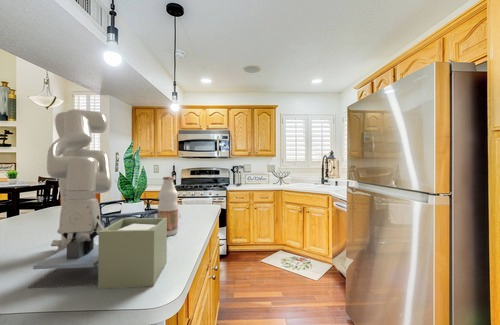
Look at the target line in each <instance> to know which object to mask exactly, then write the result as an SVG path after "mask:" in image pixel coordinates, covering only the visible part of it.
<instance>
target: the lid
mask: <svg viewBox="0 0 500 325" xmlns="http://www.w3.org/2000/svg"><path fill="white" fill-rule="evenodd" d="M85 241H86V236H82V237H80V238H78V239H76V240H74V241H72V242H70V243H68V244H67V248H65V249H64V250H62V251H60V252H58V253H56V252H55V254H52V255H51V256H49V257H47V258H46V259H44V260H42V261H39V262H38V263H36V264H34V265H33V267H32V269H33V270H55V269H57V268H81V267H94V266H96V265H97V264H98V258H99V244H95V245H94V243H95V238H93V249H92V251H90V252H89V253H87V254H84V242H85Z"/></svg>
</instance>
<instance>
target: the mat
mask: <svg viewBox="0 0 500 325" xmlns="http://www.w3.org/2000/svg"><path fill="white" fill-rule="evenodd" d="M77 286H78V287H81V286H82V287H83V286H85V287H87V286H98V264H97V265H96V266H94V267H81V268H57V269H53V270H52V271H51V272H49V273H47V274H46V275H45V276H43V277H41V278H40V279H38V280H37V281H35V282H34V283H32V284H31V285H29V286H28V287H27V289H34V288H35V289H37V288H38V289H40V288H61V287H63V288H64V287H77Z"/></svg>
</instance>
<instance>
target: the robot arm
mask: <svg viewBox="0 0 500 325" xmlns="http://www.w3.org/2000/svg"><path fill="white" fill-rule="evenodd" d="M107 120H108V119H107V117H106V114H104V113H103V112H99V111H95V110H94V111H93V110H86V109H78V108H77V109H68V110H67V111H62V112H59V113H57V114H56V115H55V118H54V124H55V129H56V134H57V135H58V137H59V138H58V139H56V140H55V141H54V142H53V143H52V144H51V145H50V146H49V148H48V150H47V155H46V157H47V158H46V172H47V174H48V176H49V177H50V178H52V179H54V180H55V179H56V180H57V179H58V187H59V193H60V200H61V201H60V202H61V208H60V215H59V227H58V229H57V232H56V233H57V234H59V235H61V238H60V239H53V240H52V242H51V244H50V246H51V247H57V249H56V251H55V254H56V253H58V252H60V251H62V250H64V249H65V248H67V244H68V243H70V242H72V241H74V240H76V239H78V238H80V237H82V236H86V241H85V242H84V254H87V253H89V252H90V251H92V249H93V238H94V239H95V237H97V235H99V231H101V230H103V229H104V228H105V227H104V226H103V224H102V222H101V209H100V203H99V200H98V198H96V194H103V193H108V192H109V191H110V190H111V188H112V175H111V174H112V173H111V167H110V166H111V164H110V159H109V156H108V154H107V153H106V152H105V151H103V150H99V149H98V150H92V149H88V146H89V145H90V144H91V143H92V140H93V139H92V138H93V136H92V134H102V133H105V132H106V131H107V127H108V121H107ZM94 245H96V243H95V242H94Z"/></svg>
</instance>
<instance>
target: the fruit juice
mask: <svg viewBox="0 0 500 325" xmlns="http://www.w3.org/2000/svg"><path fill="white" fill-rule="evenodd" d="M174 178H175V177H174V176H163V177H162V180H163V182H162V186H161V188H160V190H159V191H158V195H157V197H158V201H159V202H158V205H157V218H167V237H169V236H175V235H177V234H178V232H179V202H178V196H179V193H178V191H177V189H176V186H175V183H174Z"/></svg>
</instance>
